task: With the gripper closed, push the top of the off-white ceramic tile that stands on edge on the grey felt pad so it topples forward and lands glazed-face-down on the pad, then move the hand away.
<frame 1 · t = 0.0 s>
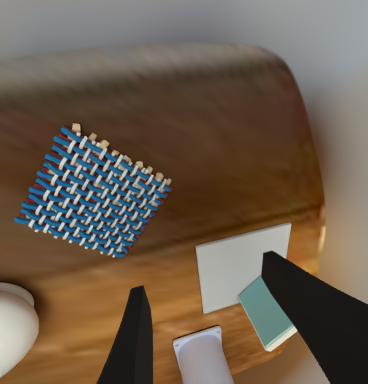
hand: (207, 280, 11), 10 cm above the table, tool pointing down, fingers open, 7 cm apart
woven mat: (103, 195, 19), on the table
tile: (256, 282, 28), resting on felt pad
felt pad: (243, 269, 27), on the table
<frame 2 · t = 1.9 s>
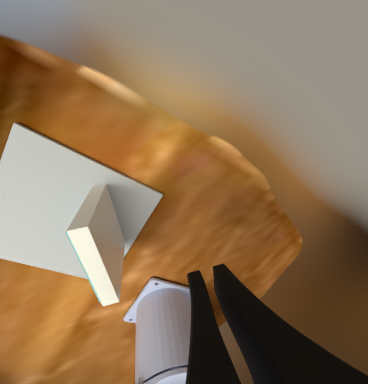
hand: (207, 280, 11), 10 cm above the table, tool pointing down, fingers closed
tile: (110, 216, 19), resting on felt pad
felt pad: (72, 219, 18), on the table
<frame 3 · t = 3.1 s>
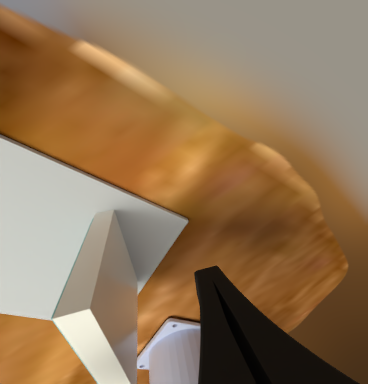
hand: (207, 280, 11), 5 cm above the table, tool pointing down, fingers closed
tile: (118, 250, 14), resting on felt pad
felt pad: (68, 255, 14), on the table
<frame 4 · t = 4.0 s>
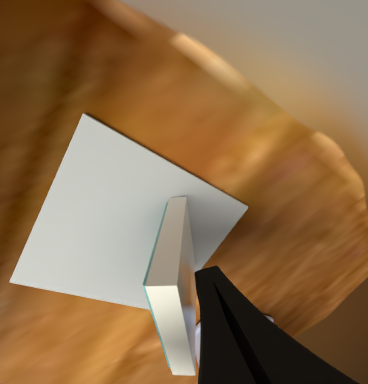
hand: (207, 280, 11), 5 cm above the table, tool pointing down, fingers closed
tile: (183, 236, 15), point 1 cm above the table, tilted 16°, touching felt pad
felt pad: (137, 238, 14), on the table
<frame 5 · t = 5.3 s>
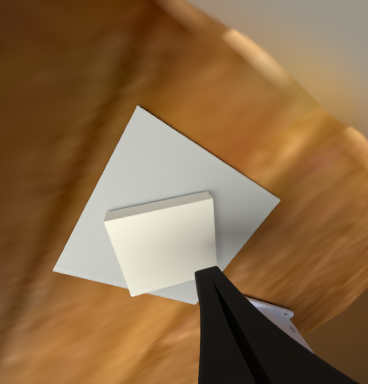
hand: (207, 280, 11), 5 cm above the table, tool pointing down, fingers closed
tile: (212, 234, 14), point 1 cm above the table, tilted 90°, touching felt pad
felt pad: (173, 229, 15), on the table
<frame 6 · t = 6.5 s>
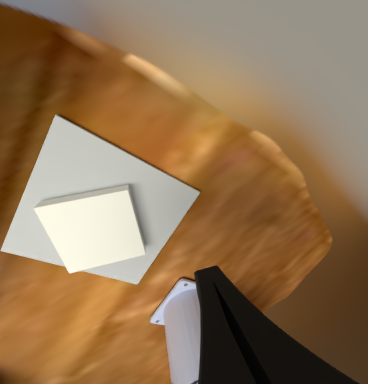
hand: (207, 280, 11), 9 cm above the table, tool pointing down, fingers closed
tile: (137, 221, 17), point 1 cm above the table, tilted 90°, touching felt pad
felt pad: (106, 217, 18), on the table
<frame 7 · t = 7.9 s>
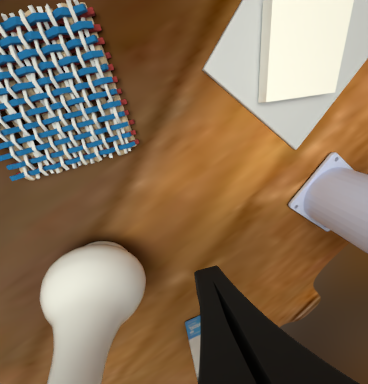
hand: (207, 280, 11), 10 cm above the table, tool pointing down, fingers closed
flower vase: (104, 265, 22), on the table
woven mat: (58, 102, 15), on the table
ink box: (204, 327, 31), on the table
tile: (337, 47, 16), point 1 cm above the table, tilted 90°, touching felt pad
felt pad: (299, 48, 17), on the table
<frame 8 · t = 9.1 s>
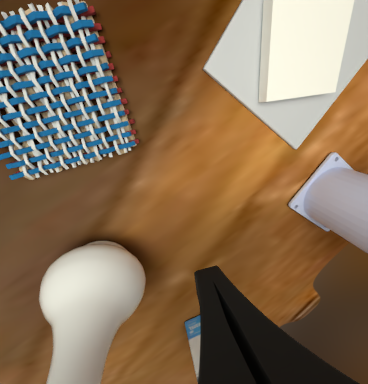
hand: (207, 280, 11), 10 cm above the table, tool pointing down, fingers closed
flower vase: (104, 265, 22), on the table
woven mat: (58, 101, 15), on the table
ink box: (204, 327, 31), on the table
tile: (338, 47, 16), point 1 cm above the table, tilted 90°, touching felt pad
felt pad: (299, 48, 17), on the table
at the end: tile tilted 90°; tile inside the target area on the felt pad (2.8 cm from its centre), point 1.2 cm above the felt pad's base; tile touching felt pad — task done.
